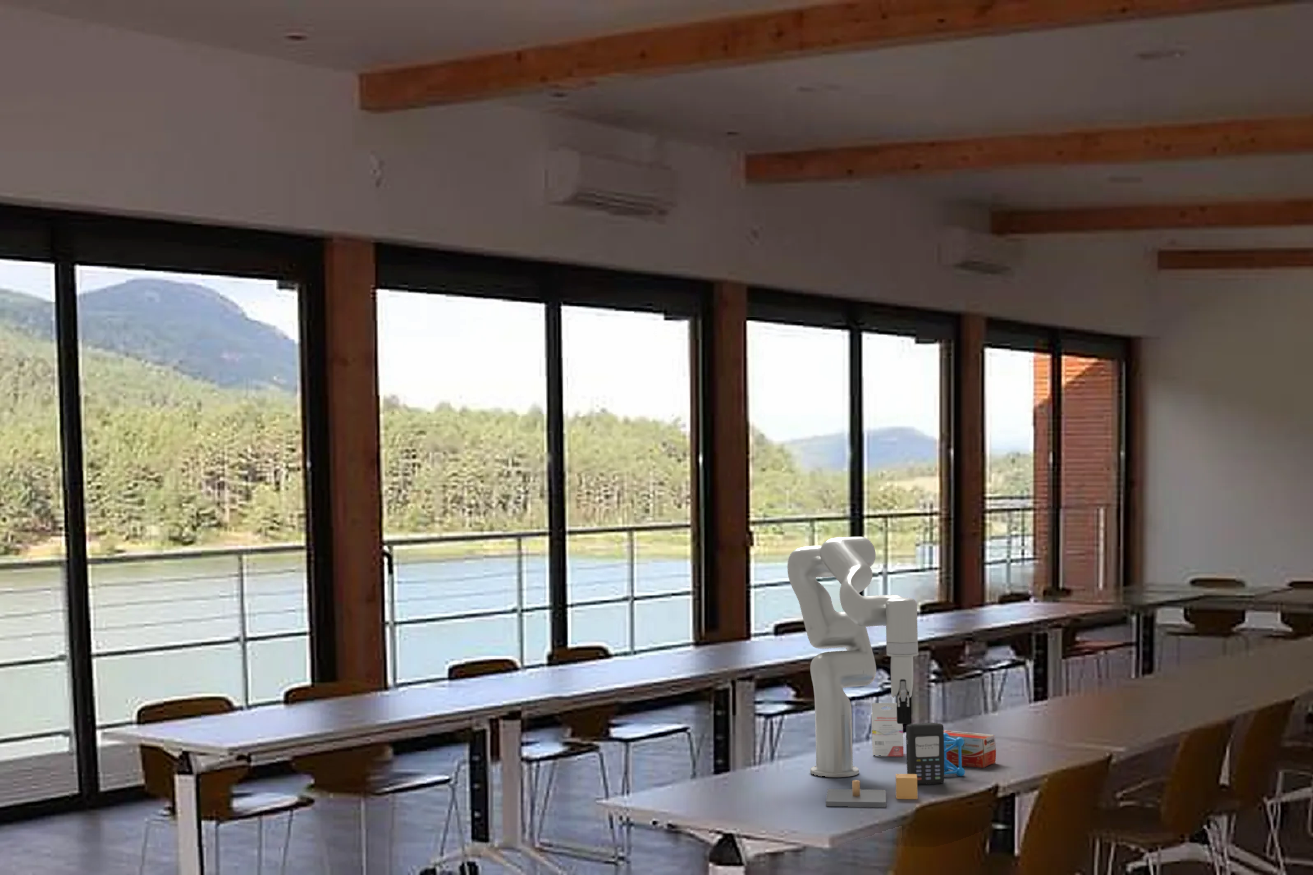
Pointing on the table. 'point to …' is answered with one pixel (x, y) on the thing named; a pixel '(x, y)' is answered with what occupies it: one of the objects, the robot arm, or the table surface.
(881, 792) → the plate
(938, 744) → the card reader
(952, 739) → the molecular structure
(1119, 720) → the table surface
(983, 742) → the medicine box
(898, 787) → the tan wooden cube
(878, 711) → the ink cartridge box
